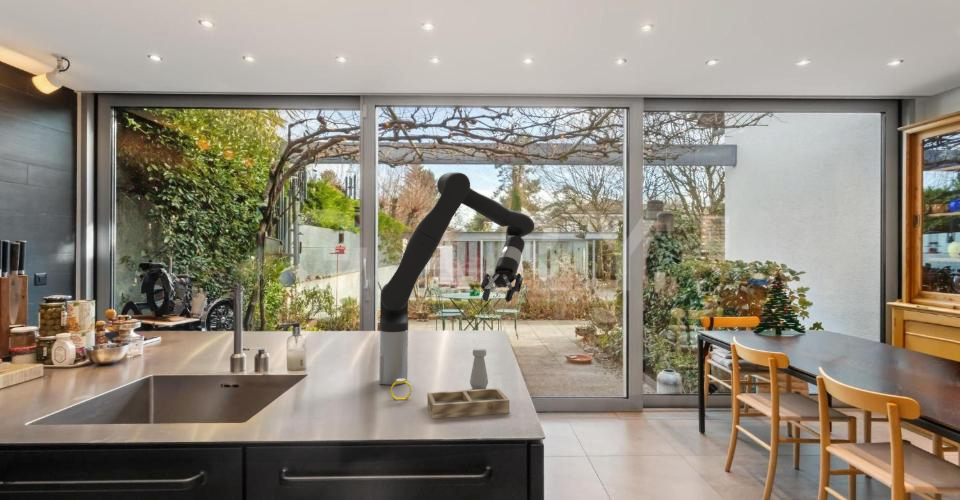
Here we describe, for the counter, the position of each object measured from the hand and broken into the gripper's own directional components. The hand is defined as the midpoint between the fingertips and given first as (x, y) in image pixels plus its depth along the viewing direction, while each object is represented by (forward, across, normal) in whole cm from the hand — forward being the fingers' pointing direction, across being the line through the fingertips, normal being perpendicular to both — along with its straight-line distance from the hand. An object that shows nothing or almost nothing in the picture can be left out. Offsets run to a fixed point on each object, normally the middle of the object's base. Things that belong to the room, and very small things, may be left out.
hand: (495, 300), depth 157 cm
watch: (+40, -16, -7) cm, 44 cm away
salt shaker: (+28, -2, +10) cm, 29 cm away
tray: (+38, +5, -4) cm, 39 cm away
